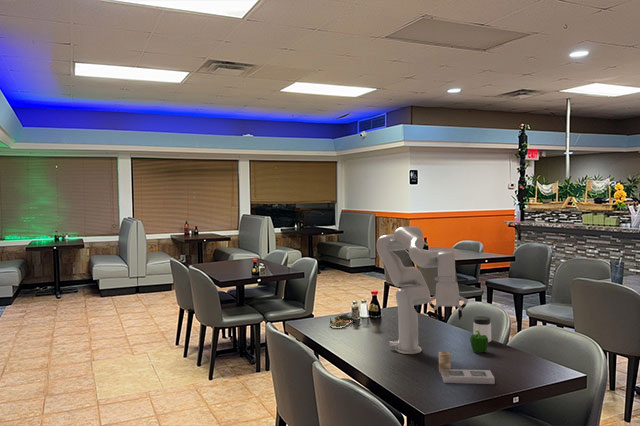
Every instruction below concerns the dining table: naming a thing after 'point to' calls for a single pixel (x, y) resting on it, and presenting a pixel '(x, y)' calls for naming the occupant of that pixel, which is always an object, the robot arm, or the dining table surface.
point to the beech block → (444, 360)
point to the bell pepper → (479, 342)
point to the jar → (482, 326)
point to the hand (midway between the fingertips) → (448, 318)
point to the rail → (467, 376)
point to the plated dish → (341, 320)
